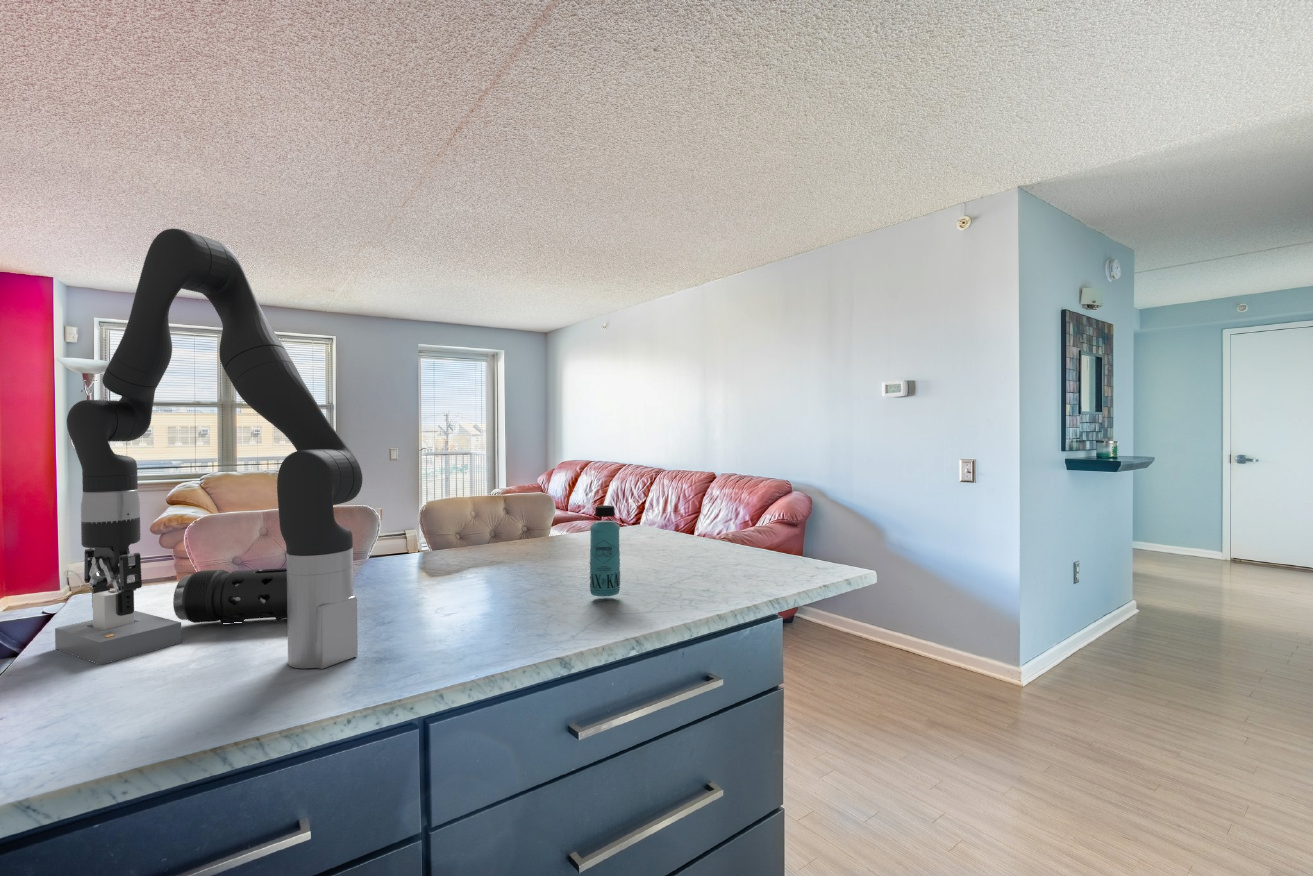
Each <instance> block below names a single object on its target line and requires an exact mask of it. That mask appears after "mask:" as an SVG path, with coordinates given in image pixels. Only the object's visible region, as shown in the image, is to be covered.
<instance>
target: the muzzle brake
mask: <svg viewBox="0 0 1313 876" xmlns="http://www.w3.org/2000/svg"><path fill="white" fill-rule="evenodd" d="M172 605H173V611H174V613H175V616H176V618H178V619H179V620H181V621H189V622H191V623H194V624H196V623H197V624H198V623H211V622H212V623H213V622H220V624H221V625H222V624H223V623H234V622H243V621H244V620H245V621H246V620H258V619H270V618H271V619H272V618H273V619H276V620H277V621H281V620H282V619H283V620H284V619H287V567H285V568H284V567H283V568H271V569H270V568H267V569H262V568H261V569H241V570H240V569H239V570H233V571H232V572H230V571H228V570H224V569H210V570H209V569H206V570H198V571H196V572H193V574H186V575H183V576H182V577H181V578H180V579H179V581H178V582H177V584H176V586H175V589H174V593H173V601H172ZM245 621H244V622H245ZM244 622H243V623H244Z"/></svg>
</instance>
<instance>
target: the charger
mask: <svg viewBox="0 0 1313 876" xmlns="http://www.w3.org/2000/svg"><path fill="white" fill-rule="evenodd" d="M92 620H93V628H94V629H97V630H100V631H101V630H105V629H109V628H114V627H118V626H122V625H127V624H131V623H134V612H133V613H132V614H128V615H123V616H119V615H117V614H116V592H115V589H110V590H109V591H104V592H99V593H93V608H92Z"/></svg>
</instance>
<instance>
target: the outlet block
mask: <svg viewBox="0 0 1313 876" xmlns="http://www.w3.org/2000/svg"><path fill="white" fill-rule="evenodd" d="M54 637H55V638H54V643H55V648H54V649H55V650H57V649H59V650H58V651H60V650H61V651H60V652H63V651H64V652H63V653H65V652H66V654H68V653H69V655H71V654H73V655H72V656H74V655H75V656H74V657H77V656H79V657H80V659H82V658H84V659H83V660H85V659H86V661H88V660H90V661H89V662H91V661H93V662H95V663H94V664H96V663H98V664H97V665H99V666H101V665H104V663H105V664H108V663H111V661H113V662H115V661H119V660H123V659H127V658H130V657H131V658H132V657H134V656H139V655H141V654H142V655H143V654H145V653H149V652H153V651H157V650H160V649H163V648H168V647H171V646H173V645H179V644H182V642H183V641H182V622H181V621H176V620H173V619H170V618H166V617H165V618H164V617H161V616H157V615H154V614H150V613H145V612H143V611H138V610H134V623H131V624H127V625H122V626H118V627H114V628H109V629H105V630H101V631H100V630H97V629H94V628H93V619H91V620H87V621H81V622H78V623H72V624H68V625H64V626H58V627H55V628H54ZM170 645H171V646H170ZM156 649H157V650H156ZM79 657H78V658H79ZM93 662H92V663H93Z"/></svg>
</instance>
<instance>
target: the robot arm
mask: <svg viewBox="0 0 1313 876" xmlns="http://www.w3.org/2000/svg"><path fill="white" fill-rule="evenodd" d="M181 290H186V291H191V292H193V293H199V294H203V296H204V297H206V299H208V301H209V302H210V303H211V305H212V307H213V308H214V310H215V312H216V313H217V315H218V316H219V319H220V321H221V325H222V331H221V336H220V337H221V338H220V343H219V350H218V351H219V352H218V353H219V360H220V363H221V366H222V368H223V369H224V373H226V376H227V377H228V379H229V381H230V382H231V384H232V387H234V390H236V392H237V394H238V396H239V397H240V398H241V399H242V400H243V402H244V403H246V404H247V405H248V406H249V407H250V408H251V409H252V410H254V411H255V412H256V413H257V414H258V415H260V416H261V417H262V418H264V419H265V421H267V422H268V423H270V424H271V425H272V426H274V427H275V428H276V429H277V430H278V431H280V432H282V434H283V435H284V436H285V437H286V438H287V439H288V441H290V443H291V444H292V446H293V447H294V449H295V450H296V451H294V452H291V453H290V454H288V455H287V456H285V458H284V459H283V461H282V462H281V465H280V467H279V468H278V473H277V478H276V479H277V480H276V490H277V491H276V492H277V507H278V518H279V520H278V521H279V522H278V523H279V529H280V534H281V537H282V538H283V540H284V542H285V546H286V547H285V548H286V549H285V550H286V553H285V554H286V568H287V618H286V619H287V620H286V621H287V622H286V624H287V664H288V666H290V667H291V668H294V669H295V668H296V669H325V668H327V667H330V666H334V665H336V664H339V663H341V662H344V661H347V660H349V659H353V658H354V657H355V658H356V657H358V655H359V651H358V650H359V649H358V645H359V644H358V643H359V642H358V641H359V640H358V638H359V637H358V636H359V635H358V599H357V597H356V596H355V595H354V548H353V545H354V544H353V541H354V540H353V533H352V531H351V530H350V529H349V528H347V527H344V526H341V525H339V524H338V523H337V522H336V519H335V512H334V506H336V505H341V504H344V503H348V502H351V501H353V500H354V499H355V498H356V497H358V495H359V493H360V491H361V489H362V485H363V473H362V469H361V466H360V464H359V461H358V459H357V457H356V456H355V454H354V453H353V452H352V451H351V450H350V448H349V447H348V446H347V444H346V443H345V441H344V440H343V439H342V438H341V436H340V435H339V433H337V431H336V430H335V428H334V427H333V426H332V425H331V423H330V422H329V420H328V418H327V417H326V416H325V414H324V413H323V410H322V409H321V408H320V405H319V404H318V402H317V401H316V399H315V398H314V396H313V394H312V393H311V391H310V390H309V388H308V386H307V384H306V383H305V382H304V379H303V378H302V376H301V375H300V372H299V370H298V368H297V367H296V365H295V363H294V361H293V360H292V358H291V357H290V355H289V353H288V352H287V350H286V348H285V347H284V345H283V343H282V342H281V340H280V339H279V337H278V336H277V334H276V332H275V331H274V328H273V327H272V326H271V323H270V322H269V320H268V317H267V316H266V314H265V312H264V311H263V309H262V308H261V306H260V303H259V301H258V300H257V297H256V295H255V293H254V291H253V289H252V286H251V285H250V282H249V279H248V277H247V274H246V273H245V271H244V268H243V266H242V264H241V262H240V260H239V259H238V257H237V255H236V254H235V252H234V251H233V250H232V248H230V247H229V246H227V245H226V244H224V243H222V242H220V241H218V240H216V239H212V238H209V237H205V236H202V235H199V234H197V233H195V232H194V233H193V232H191V231H187V230H184V229H181V228H167V229H164V230H162V231H161V232H159V233H158V234H157V235H156V236H155V238H154V239H152V242H151V244H150V246H149V248H148V250H147V252H146V255H145V259H144V261H143V266H142V269H141V272H140V277H139V281H138V284H137V287H136V290H135V294H134V298H133V302H132V306H131V310H130V314H129V318H128V321H127V325H126V326H125V330H124V333H123V335H122V337H121V340H120V341H119V344H118V346H117V347H116V350H115V351H114V353H113V355H112V357H111V359H110V360H109V363H108V365H107V367H106V369H105V371H104V373H103V375H102V380H101V381H102V384H103V386H104V387H105V388H106V389H107V390H108V391H109V392H111V393H113V394H115V395H118V396H120V398H119V400H106V399H105V400H102V399H83V400H80V401H78V402H76V403H75V404H73V406H72V407H71V408H70V410H69V411H68V414H67V416H66V428H67V432H68V435H69V437H70V440H71V443H72V445H73V447H74V450H75V452H76V456H77V459H78V461H79V463H80V466H81V470H82V471H81V472H82V474H81V475H82V494H81V495H82V496H81V497H82V498H81V503H80V526H81V527H80V530H81V531H80V534H81V538H80V539H81V546H82V547H83V548H85V550H84V565H83V566H84V570H83V571H84V575H83V576H84V577H83V580H84V583H85V584H88V586H89V588H90V589H91V598H92V599H91V603H92V607H91V608H92V609H93V593H99V592H104V591H109V590H111V586H110V584H112V586H113V588H114V589H115V592H116V614H117V615H119V616H123V615H128V614H132V613H133V612H134V611H135V598H134V597H135V592H134V591H137V589H142V585H143V583H142V581H143V580H142V560H141V553H140V552H134V553H131V552H130V548H129V547H130V545H132V544H133V545H134V544H137V543H139V542H140V541H141V503H140V502H141V501H140V496H139V490H138V487H139V486H138V482H139V481H138V463H137V460H136V459H134V458H133V457H132V456H129V455H121V454H117V453H115V452H114V451H113V449H112V447H111V446H110V443H109V442H132V441H136V440H137V439H140V438H141V437H142V436H143V435H145V434H146V432H148V430H149V428H150V426H151V421H152V415H153V407H154V401H155V393H156V390H157V388H158V386H159V384H160V382H161V380H162V379H163V377H164V375H165V373H166V371H167V369H168V367H169V365H170V363H171V359H172V356H173V355H172V354H173V342H172V337H171V331H170V325H169V324H170V323H169V314H170V308H171V306H172V303H173V302H174V300H175V298H176V296H177V295H178V293H180V291H181ZM114 589H113V590H114Z"/></svg>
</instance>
